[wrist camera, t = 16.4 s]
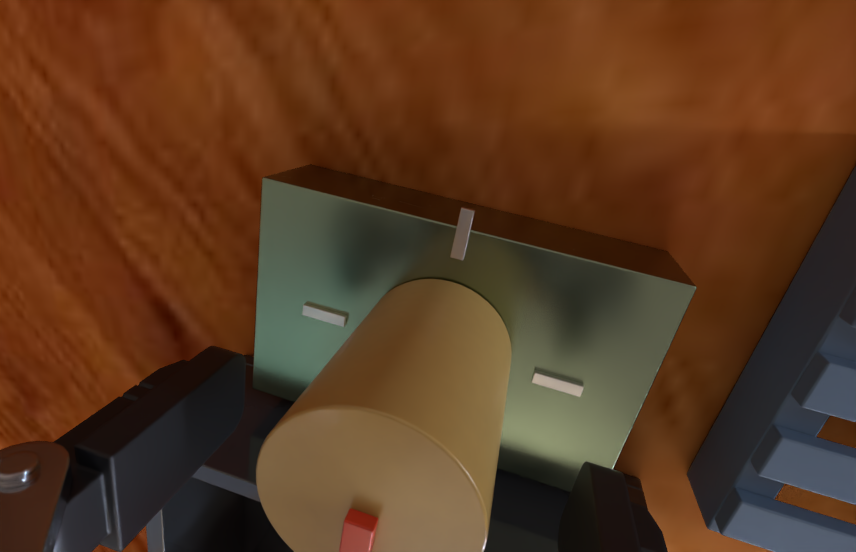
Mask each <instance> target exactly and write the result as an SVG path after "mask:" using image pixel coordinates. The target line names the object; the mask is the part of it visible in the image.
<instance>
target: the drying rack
mask: <svg viewBox="0 0 856 552" xmlns="http://www.w3.org/2000/svg"><path fill="white" fill-rule="evenodd" d="M830 415H832V416H835V417H839V418H842V419H846V420H850V421H853V422H856V166H855V168H854V170H853V171H852V173H851V175H850V177H849V179H848V181H847V182H846V184H845V186H844V188H843V190H842V191H841V193H840V195H839V197H838V199H837V201H836V202H835V204H834V206H833V208H832V210H831V212H830V213H829V215H828V217H827V219H826V221H825V222H824V224H823V226H822V228H821V230H820V232H819V233H818V235H817V237H816V239H815V241H814V242H813V244H812V246H811V248H810V250H809V252H808V253H807V255H806V257H805V259H804V261H803V263H802V264H801V266H800V268H799V270H798V272H797V273H796V275H795V277H794V279H793V281H792V283H791V284H790V286H789V288H788V290H787V292H786V294H785V295H784V297H783V299H782V301H781V303H780V304H779V306H778V308H777V310H776V312H775V314H774V315H773V317H772V319H771V321H770V323H769V325H768V326H767V328H766V330H765V332H764V334H763V335H762V337H761V339H760V341H759V343H758V345H757V346H756V348H755V350H754V352H753V354H752V356H751V357H750V359H749V361H748V363H747V365H746V366H745V368H744V370H743V372H742V374H741V376H740V377H739V379H738V381H737V383H736V385H735V387H734V388H733V390H732V392H731V394H730V396H729V397H728V399H727V401H726V403H725V405H724V407H723V408H722V410H721V412H720V414H719V416H718V418H717V419H716V421H715V423H714V425H713V427H712V428H711V430H710V432H709V434H708V436H707V438H706V439H705V441H704V443H703V445H702V447H701V449H700V450H699V452H698V454H697V456H696V458H695V459H694V461H693V463H692V465H691V467H690V469H689V470H688V472H687V476H688V479H689V481H690V484H691V487H692V489H693V492H694V495H695V497H696V500H697V503H698V505H699V508H700V511H701V513H702V516H703V519H704V521H705V524H706V526H707V528H708V529H710V530H713V531H716V532H719V533H721V534H722V535H724V536H727V537H730V538H733V539H737V540H740V541H743V542H746V543H749V544H752V545H755V546H758V547H761V548H764V549H767V550H770V551H774V552H856V525H855V524H852V523H848V522H845V521H842V520H839V519H836V518H832V517H829V516H826V515H823V514H819V513H816V512H813V511H810V510H806V509H803V508H800V507H797V506H794V505H790V504H787V503H784V502H781V501H777V500H774V499H775V497H776V496H777V494H778V493H779V491H780V490H781V488H782V487H783V485H784V484H789V485H792V486H795V487H798V488H802V489H805V490H808V491H812V492H815V493H818V494H821V495H825V496H828V497H831V498H835V499H838V500H841V501H845V502H848V503H851V504H854V505H856V448H853V447H849V446H846V445H842V444H839V443H835V442H832V441H828V440H825V439H821V438H818V437H816V436H817V434H818V433H819V431H820V430H821V428H822V427H823V425H824V424H825V422H826V421H827V419H828V418H829V416H830Z"/></svg>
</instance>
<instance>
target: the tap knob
mask: <svg viewBox="0 0 856 552" xmlns="http://www.w3.org/2000/svg"><path fill="white" fill-rule="evenodd" d="M511 355H512V351H511V342H510V338H509V334H508V331H507V329H506V326H505V324H504V322H503V321H502V319H501V317H500V316H499V314H498V313H497V312H496V310H495V309H494V308H493V307H492V306H491V305H490V304H489V303H488V302H487V301H486V300H485V299H484V298H482V297H481V296H480V295H479V294H477V293H475V292H474V291H472V290H471V289H469V288H466V287H464V286H462V285H460V284H457V283H454V282H450V281H445V280H439V279H420V280H415V281H410V282H407V283H404V284H402V285H400V286H397V287H395V288H394V289H392V290H391V291H389V292H388V293H387V294H386V295H384V296H383V297H382V298H381V299H380V300H379V302H378V303H377V304H376V305H375V306H374V308H373V309H372V310H371V311H370V312H369V314H368V315H367V316H366V317H365V318H364V320H363V321H362V322H361V323H360V325H359V326H358V327H357V328H356V329H355V331H354V332H353V333H352V334H351V335H350V337H349V338H348V339H347V340H346V341H345V343H344V344H343V345H342V346H341V347H340V349H339V350H338V351H337V352H336V353H335V355H334V356H333V357H332V358H331V359H330V361H329V362H328V363H327V364H326V365H325V367H324V368H323V369H322V370H321V371H320V373H319V374H318V375H317V376H316V377H315V379H314V380H313V381H312V382H311V383H310V385H309V386H308V387H307V388H306V390H305V391H304V392H303V393H302V394H301V396H300V397H299V398H298V399H297V400H296V402H295V403H294V404H293V405H292V406H291V408H290V409H289V410H288V411H287V412H286V414H285V415H284V416H283V417H282V418H281V420H280V421H279V422H278V423H277V424H276V426H275V427H274V428H273V429H272V431H271V432H270V433H269V434H268V435H267V437H266V439H265V440H264V442H263V444H262V446H261V449H260V452H259V455H258V459H257V465H256V484H257V490H258V495H259V498H260V501H261V504H262V507H263V509H264V511H265V513H266V515H267V517H268V519H269V521H270V522H271V524H272V526H273V527H274V529H275V530H276V531H277V533H278V534H279V535H280V537H281V538H282V539H283V540H284V541H285V543H286V544H287V545H288V546H289V547H290V548H291V549H292V550H293V551H294V552H484V550H485V546H486V542H487V538H488V531H489V524H490V516H491V509H492V501H493V494H494V486H495V479H496V471H497V464H498V456H499V448H500V441H501V433H502V426H503V418H504V411H505V403H506V396H507V388H508V381H509V373H510V366H511Z"/></svg>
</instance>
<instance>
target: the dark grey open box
mask: <svg viewBox="0 0 856 552" xmlns="http://www.w3.org/2000/svg"><path fill="white" fill-rule="evenodd" d="M243 356H244V357H245V360H246V374H245V400H244V411H243V414H242V417H241V420H240V422H239V424H238V426H237V427H236V429H235V430H234V432H233V433H232V434H231V435H230V436H229V437H228V438H227V439H226V440H225V441H224V443H223V444H222V445H221V446H220V447H219V448H218V449H217V450H216V451H215V452H214V453H213V454H212V455H211V456H210V457H209V459H208V460H207V461H206V462H205V463H204V464H203V465H202V466H201V467H200V468H199V469H198V470H197V471H196V472H195V473H194V475H193V476H192V477H191V478H190V479H189V480H188V481H187V482H186V483H185V484H184V485H183V486H182V487H181V488H180V489H179V491H178V492H177V493H176V494H175V495H174V496H173V497H172V498H171V499H170V500H169V501H168V502H167V503H166V504H165V505H164V507H163V508H162V509H161V510H160V511H159V512H158V513H157V514H156V515H155V516H154V517H153V518H152V519H151V520H150V521H149V523H148V524H147V525H146V531H147V545H148V552H294V551H293V550H292V549H291V548H290V547H289V546H288V545H287V544H286V543H285V541H284V540H283V539H282V538H281V537H280V535H279V534H278V533H277V531H276V530H275V529H274V527H273V526H272V524H271V522H270V521H269V519H268V517H267V515H266V513H265V511H264V509H263V507H262V504H261V501H260V498H259V495H258V490H257V484H256V465H257V459H258V455H259V452H260V449H261V446H262V444H263V442H264V440H265V439H266V437H267V435H268V434H269V433H270V432H271V431H272V429H273V428H274V427H275V426H276V424H277V423H278V422H279V421H280V420H281V418H282V417H283V416H284V415H285V414H286V412H287V411H288V410H289V409H290V408H291V406H292V405H293V404H294V403H295V402H293V401H290V400H287V399H284V398H280V397H277V396H274V395H271V394H268V393H265V392H262V391H259V390H256V389H253V388H252V383H253V361H254V357H252V356H249V355H243ZM624 476H625V480H626V484H627V489H628V493H629V498H630V502H633V503H636V504H639V505H642V506H645V507H646V508H647V504H646V500H645V496H644V492H643V490H642V485H641V481H640V479H639V478H635V477H632V476H629V475H626V474H624ZM570 493H571V492H568V491H565V490H562V489H559V488H556V487H553V486H550V485H547V484H544V483H541V482H538V481H535V480H532V479H529V478H525V477H522V476H519V475H516V474H513V473H510V472H507V471H504V470H501V469H498V468H497V471H496V479H495V486H494V494H493V501H492V509H491V516H490V524H489V531H488V538H487V542H486V546H485V550H484V552H558V532H559V525H560V520H561V516H562V513H563V510H564V508H565V505H566V503H567V500H568V498H569V496H570ZM647 510H648V508H647Z"/></svg>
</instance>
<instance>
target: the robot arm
mask: <svg viewBox="0 0 856 552" xmlns="http://www.w3.org/2000/svg"><path fill="white" fill-rule="evenodd" d="M245 374H246V360H245V357H244V356H243V355H242V354H239V353H236V352H232V351H229V350H226V349H223V348H219V347H216V346H210V347H208V348H206V349H205V350H204V351H202V352H201V353H200V354H198V355H197V356H195V357H194V358H193V359H191V360H190V361H186V360H181V361H179V362H176V363H173V364H171V365H168V366H165V367H163V368H160V369H158V370H157V371H155V372H154V373H152V374H151V375H150V376H148V377H147V378H145V379H144V380H142V381H141V382H140V383H139V385H138V386H137V385H135V386H134V387H132V388H131V389H129V390H128V391H126V392H125V393H124V394H123V396H122V397H118V398H116V399H115V400H114V401H112V402H111V403H109V404H108V405H106V406H105V407H103V408H102V409H101V410H99V411H98V412H96V413H95V414H93V415H92V416H90V417H89V418H88V419H86V420H85V421H83V422H82V423H80V424H79V425H78V426H76V427H75V428H73V429H72V430H70V431H69V432H67V433H66V434H65V435H63V436H62V437H60V438H59V439H57V440H56V441H54V442H48V441H33V442H26V443H20V444H17V445H13V446H10V447H7V448H4V449H2V450H0V552H92V551H93V550H94V549H95V548H96V547H97V546H98V545H99V544H100V545H103V546H105V547H108V548H110V549H113V550H116V551H118V552H121V551H122V550H123V549H124V548H125V547H126V546H127V545H128V544H129V543H130V542H131V541H132V540H133V539H134V537H135V536H136V535H137V534H138V533H139V532H140V531H141V530H142V529H143V528H144V527H145V526H146V525H147V524H148V523H149V521H150V520H151V519H152V518H153V517H154V516H155V515H156V514H157V513H158V512H159V511H160V510H161V509H162V508H163V507H164V505H165V504H166V503H167V502H168V501H169V500H170V499H171V498H172V497H173V496H174V495H175V494H176V493H177V492H178V491H179V489H180V488H181V487H182V486H183V485H184V484H185V483H186V482H187V481H188V480H189V479H190V478H191V477H192V476H193V475H194V473H195V472H196V471H197V470H198V469H199V468H200V467H201V466H202V465H203V464H204V463H205V462H206V461H207V460H208V459H209V457H210V456H211V455H212V454H213V453H214V452H215V451H216V450H217V449H218V448H219V447H220V446H221V445H222V444H223V443H224V441H225V440H226V439H227V438H228V437H229V436H230V435H231V434H232V433H233V432H234V430H235V429H236V427H237V426H238V424H239V422H240V420H241V417H242V414H243V411H244V400H245ZM558 552H668V551H667V548H666V544H665V541H664V537H663V534H662V531H661V529H660V528H659V526H658V525H657V523H656V522H655V520H654V519H653V517H652V516H651V514H650V513H649V511H648V510H647V508H646V507H645V506H642V505H639V504H636V503H633V502H630V498H629V493H628V489H627V484H626V480H625V476H624V474H623V473H622V472H620V471H616V470H613V469H610V468H607V467H603V466H600V465H597V464H594V463H590V462H584V464H583V465H582V467H581V469H580V471H579V474H578V476H577V479H576V481H575V484H574V486H573V488H572V491H571V493H570V496H569V498H568V500H567V503H566V505H565V508H564V510H563V513H562V516H561V520H560V525H559V532H558Z"/></svg>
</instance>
